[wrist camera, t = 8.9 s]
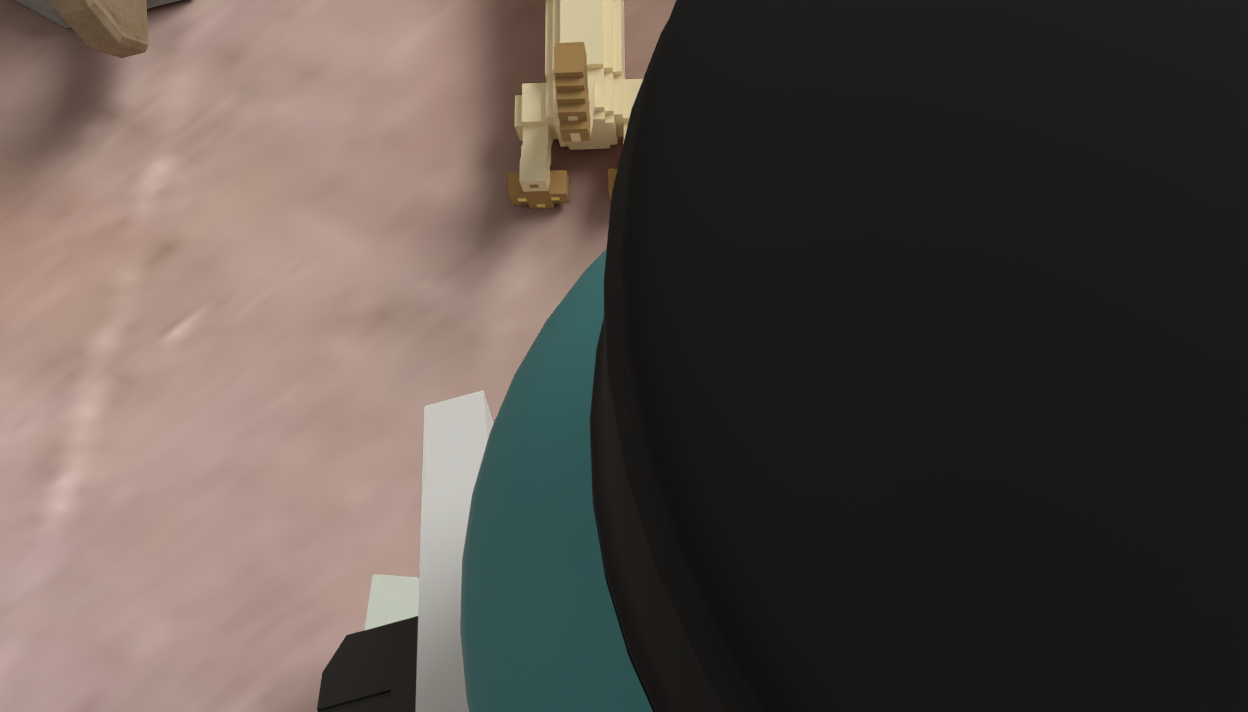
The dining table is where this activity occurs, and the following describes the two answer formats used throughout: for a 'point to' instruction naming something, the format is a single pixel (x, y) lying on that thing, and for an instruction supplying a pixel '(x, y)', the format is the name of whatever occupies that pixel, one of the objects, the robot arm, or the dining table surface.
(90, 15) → the tankard
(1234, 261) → the beverage bottle
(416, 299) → the dining table surface
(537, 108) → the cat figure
